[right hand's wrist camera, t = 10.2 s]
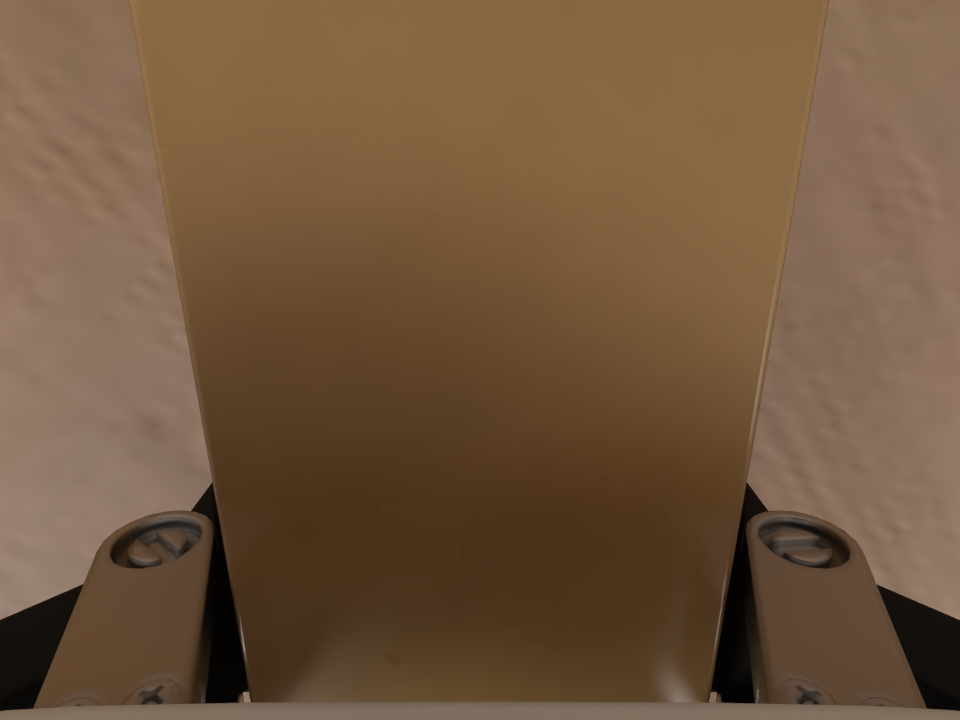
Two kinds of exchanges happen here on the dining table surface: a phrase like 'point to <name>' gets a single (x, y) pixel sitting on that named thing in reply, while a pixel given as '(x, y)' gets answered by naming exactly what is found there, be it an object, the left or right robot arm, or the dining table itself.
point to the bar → (479, 326)
